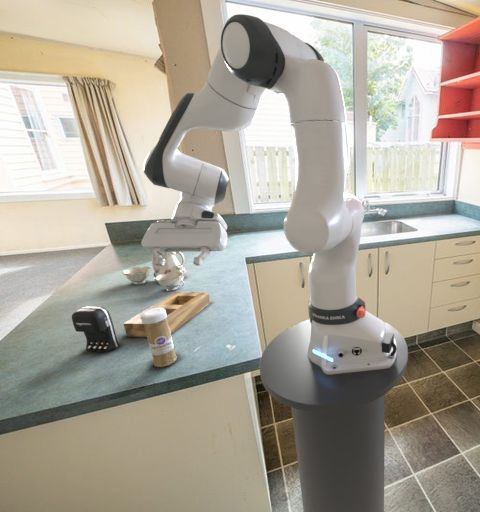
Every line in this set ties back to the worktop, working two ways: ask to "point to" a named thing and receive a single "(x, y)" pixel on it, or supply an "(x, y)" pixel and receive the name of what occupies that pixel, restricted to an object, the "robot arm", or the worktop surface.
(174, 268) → the chinaware
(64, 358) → the worktop surface
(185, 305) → the socket block
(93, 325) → the battery charger
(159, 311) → the sprinkles bottle
